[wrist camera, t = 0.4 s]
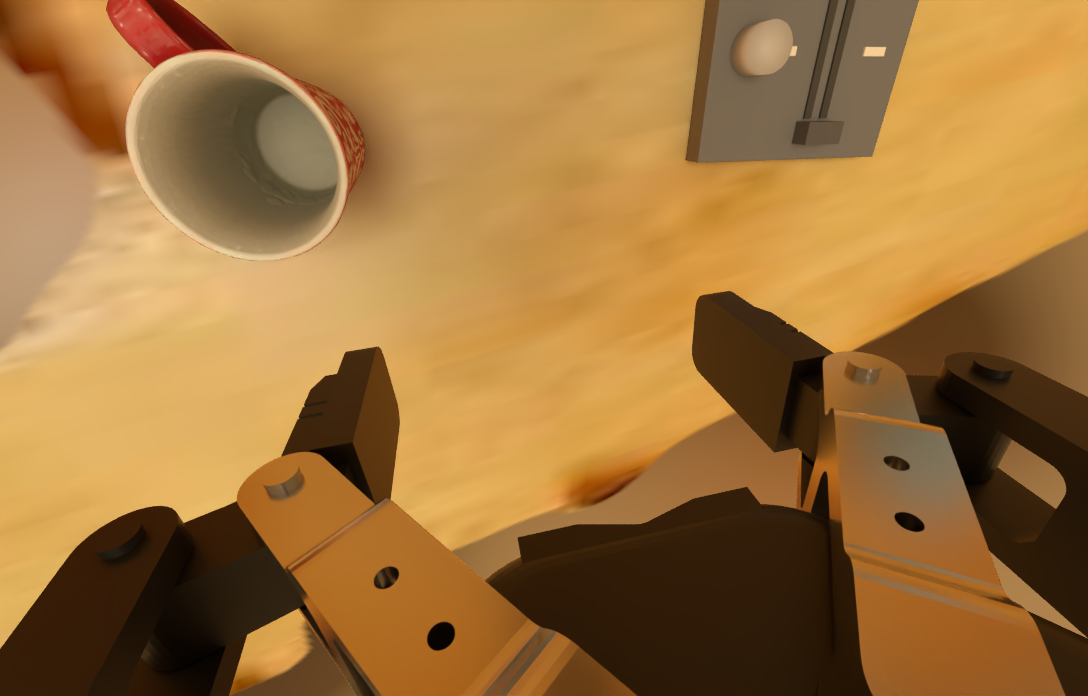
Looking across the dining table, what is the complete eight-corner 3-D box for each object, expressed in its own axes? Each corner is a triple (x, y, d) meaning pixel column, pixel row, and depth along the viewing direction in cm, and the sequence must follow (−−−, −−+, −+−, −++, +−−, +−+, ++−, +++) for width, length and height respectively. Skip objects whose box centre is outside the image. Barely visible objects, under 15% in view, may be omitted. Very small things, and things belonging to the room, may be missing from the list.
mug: (405, 169, 35) (387, 203, 23) (305, 231, 35) (237, 294, 24) (281, -21, 29) (170, -108, 17) (162, 57, 29) (-25, 27, 17)
